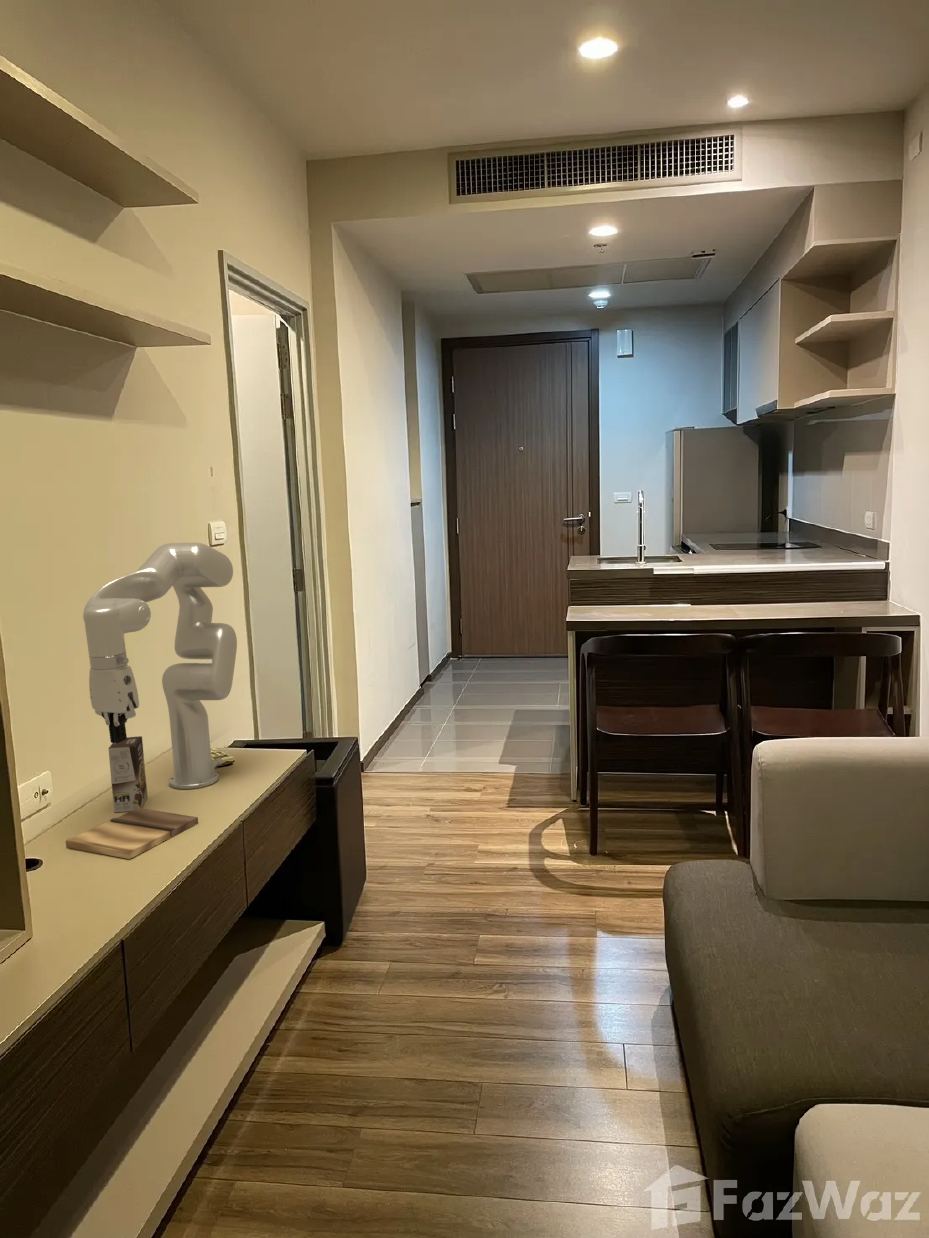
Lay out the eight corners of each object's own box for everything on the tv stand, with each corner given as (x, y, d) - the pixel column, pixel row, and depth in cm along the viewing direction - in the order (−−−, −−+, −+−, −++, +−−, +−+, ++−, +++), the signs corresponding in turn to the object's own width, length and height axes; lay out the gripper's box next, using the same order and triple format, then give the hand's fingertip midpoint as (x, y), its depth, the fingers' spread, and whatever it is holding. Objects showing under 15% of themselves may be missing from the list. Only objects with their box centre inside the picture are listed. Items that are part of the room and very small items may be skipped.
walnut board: (138, 813, 208) (137, 806, 207) (198, 823, 200) (197, 816, 200) (110, 826, 200) (110, 819, 200) (172, 837, 193) (171, 829, 192)
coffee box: (141, 810, 210) (135, 745, 207) (113, 813, 209) (107, 748, 206) (148, 797, 219) (143, 735, 216) (121, 800, 218) (115, 737, 215)
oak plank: (109, 827, 200) (108, 820, 199) (170, 838, 192) (169, 830, 192) (66, 847, 189) (65, 839, 188) (129, 859, 181) (128, 851, 181)
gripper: (147, 659, 192) (157, 738, 195) (96, 655, 197) (106, 732, 201) (121, 668, 185) (132, 750, 189) (69, 663, 191) (80, 743, 194)
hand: (118, 740), depth 195 cm, fingers closed
